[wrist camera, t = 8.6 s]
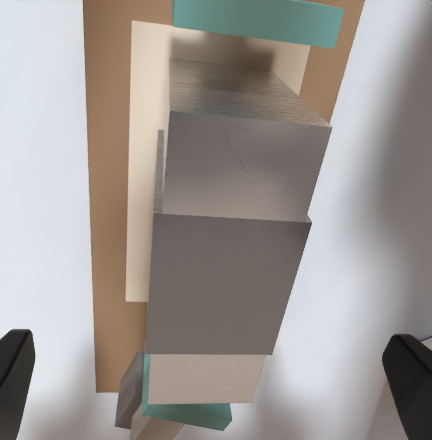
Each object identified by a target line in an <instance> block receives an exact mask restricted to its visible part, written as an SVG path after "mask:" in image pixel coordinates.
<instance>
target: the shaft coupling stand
mask: <svg viewBox="0 0 432 440" xmlns="http://www.w3.org/2000/svg"><path fill="white" fill-rule="evenodd" d="M364 2H365V0H83V21H84V50H85V79H86V109H87V138H88V167H89V196H90V226H91V255H92V284H93V313H94V343H95V372H96V393H101V392H119V395H118V404H117V413H116V421H115V427H120V428H126V429H131V436H130V440H173V438H174V437H175V436H176V434H177V433H178V432H179V430H180V429H181V428H182V427H183V425H184V424H190V425H195V426H200V427H205V428H210V429H215V430H220V431H223V430H224V429H225V428H226V427H227V426H228V425H229V423H230V422H231V421H232V416H231V409H230V403H204V404H148V393H149V370H150V354H145V346H146V328H147V310H148V292H149V275H150V257H151V239H152V222H153V206H154V189H155V172H156V155H157V139H158V129H160V130H164V116H165V101H166V86H167V71H168V58H174V59H182V60H190V61H198V62H207V63H215V64H223V65H231V66H239V67H247V68H256V69H264V70H272V71H273V72H274V73H275V74H276V75H277V76H278V77H279V78H280V79H282V80H283V81H284V82H285V83H286V84H287V85H288V86H289V87H290V88H291V89H292V90H293V91H294V92H295V93H297V94H298V95H299V96H300V97H301V98H302V99H303V100H304V101H305V102H306V103H307V104H308V105H309V106H310V107H311V108H313V109H314V110H315V111H316V112H317V113H318V114H319V115H320V116H321V117H322V118H323V119H324V120H325V121H326V122H328V123H330V120H331V116H332V113H333V109H334V106H335V103H336V99H337V96H338V92H339V89H340V85H341V82H342V78H343V75H344V71H345V68H346V64H347V61H348V57H349V54H350V50H351V47H352V43H353V40H354V36H355V33H356V29H357V26H358V23H359V19H360V16H361V12H362V9H363V5H364Z"/></svg>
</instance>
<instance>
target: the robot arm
mask: <svg viewBox="0 0 432 440" xmlns="http://www.w3.org/2000/svg"><path fill="white" fill-rule="evenodd" d="M34 363H35V349H34V342H33V335H32V332H31V330H29V329H13V330H10V331H9V332H8V333H7V334H6V335H5V336H4V337H2V338H1V339H0V440H16V438H17V435H18V432H19V428H20V424H21V420H22V416H23V412H24V407H25V403H26V399H27V394H28V390H29V385H30V381H31V377H32V372H33V368H34ZM382 363H383V367H384V370H385V373H386V376H387V379H388V383H389V386H390V389H391V392H392V395H393V399H394V402H395V405H396V408H397V411H398V414H399V417H400V420H401V422H402V425H403V428H404V430H405V432H406V435H407V437H408V440H432V350H431V349H429V348H428V347H427V346H425V345H424V344H423V343H421V342H420V341H419V340H417V339H416V338H415V337H413V336H412V335H410V334H394V335H393V336H392V337H391V339H390V341H389V343H388V345H387V346H386V348H385V350H384V352H383V355H382Z"/></svg>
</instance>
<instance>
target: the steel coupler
mask: <svg viewBox="0 0 432 440" xmlns="http://www.w3.org/2000/svg"><path fill="white" fill-rule="evenodd" d="M331 130H332V126H331V125H330V124H329V123H328V122H326V121H325V120H324V119H323V118H322V117H321V116H320V115H319V114H318V113H317V112H316V111H315V110H314V109H313V108H311V107H310V106H309V105H308V104H307V103H306V102H305V101H304V100H303V99H302V98H301V97H300V96H299V95H298V94H297V93H295V92H294V91H293V90H292V89H291V88H290V87H289V86H288V85H287V84H286V83H285V82H284V81H283V80H282V79H280V78H279V77H278V76H277V75H276V74H275V73H274V72H273V71H272V70H264V69H256V68H247V67H239V66H231V65H223V64H215V63H207V62H198V61H190V60H182V59H174V58H168V71H167V86H166V101H165V116H164V130H160V129H158V139H157V155H156V172H155V189H154V206H153V222H152V239H151V257H150V275H149V292H148V310H147V328H146V346H145V354H150V370H149V393H148V404H204V403H252V401H253V397H254V394H255V390H256V387H257V383H258V380H259V377H260V373H261V370H262V366H263V363H264V359H265V356H266V355H272V353H273V350H274V346H275V343H276V340H277V336H278V333H279V330H280V327H281V323H282V320H283V317H284V313H285V310H286V307H287V304H288V300H289V297H290V294H291V290H292V287H293V284H294V280H295V277H296V274H297V271H298V267H299V264H300V261H301V257H302V254H303V251H304V248H305V244H306V241H307V238H308V234H309V231H310V228H311V225H312V222H311V220H310V218H309V217H308V215H307V212H308V209H309V206H310V202H311V199H312V195H313V192H314V188H315V185H316V182H317V178H318V175H319V171H320V168H321V164H322V161H323V158H324V154H325V151H326V147H327V144H328V141H329V137H330V134H331Z"/></svg>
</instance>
